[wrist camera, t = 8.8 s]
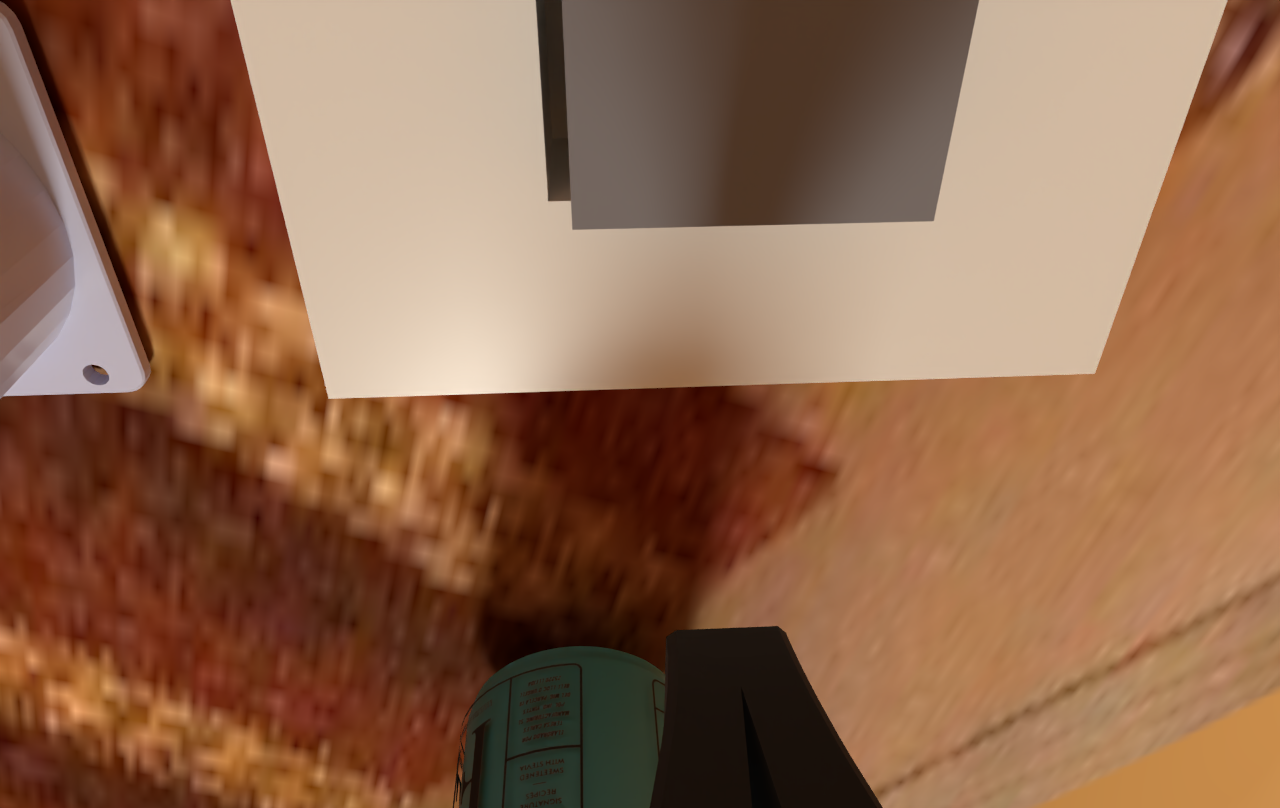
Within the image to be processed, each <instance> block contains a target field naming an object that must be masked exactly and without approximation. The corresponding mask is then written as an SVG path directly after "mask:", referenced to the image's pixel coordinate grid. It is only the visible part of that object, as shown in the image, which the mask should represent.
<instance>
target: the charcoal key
mask: <svg viewBox="0 0 1280 808" xmlns="http://www.w3.org/2000/svg"><path fill="white" fill-rule="evenodd" d="M978 3H979V0H562V18H563V39H564V61H565V83H566V104H567V126H568V147H569V169H570V191H571V212H572V230H587V229H629V228H672V227H714V226H756V225H798V224H840V223H882V222H924V221H934V218H935V213H936V208H937V203H938V198H939V193H940V188H941V183H942V179H943V174H944V169H945V164H946V159H947V154H948V149H949V145H950V140H951V135H952V130H953V125H954V120H955V115H956V110H957V106H958V101H959V96H960V91H961V86H962V81H963V76H964V72H965V67H966V62H967V57H968V52H969V47H970V42H971V38H972V33H973V28H974V23H975V18H976V13H977V8H978Z"/></svg>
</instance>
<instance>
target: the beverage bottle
mask: <svg viewBox="0 0 1280 808" xmlns="http://www.w3.org/2000/svg"><path fill="white" fill-rule="evenodd" d="M664 700H665V674H664V673H663V672H662V671H660V670H659V669H658V668H657V667H655V666H654V665H652V664H651V663H649V662H647V661H646V660H644V659H641V658H639V657H637V656H635V655H632V654H629V653H626V652H623V651H618V650H614V649H609V648H602V647H592V646H572V647H562V648H554V649H549V650H544V651H541V652H537V653H534V654H530V655H528V656H525V657H523V658H520V659H518V660H516V661H514V662H512V663H510V664H508V665H506V666H505V667H503V668H502V669H500V670H499V671H498V672H496V673H495V674H494V675H493V676H492V677H490V678H489V680H488V681H487V682H486V683H485V684H484V685H483V687H482V688H481V690H480V692H479V693H478V695H477V698H476V700H475V702H474V703H473V705H474V706H473V705H472V706H471V707H470V709H471V708H472V707H473V708H472V710H471V713H470V715H469V720H468V723H467V727H466V725H465V727H466V729H467V735H466V744H465V752H464V750H463V753H464V764H463V763H460V765H463V769H462V767H461V769H462V772H463V773H462V783H461V782H460V778H459V775H458V765H459V760H462V759H461V758H460V753H461V751H460V750H459V751H460V753H459V757H458V763H457V774H456V783H457V793H458V784H459V783H460V796H459V808H650V803H651V798H652V792H653V787H654V781H655V776H656V770H657V765H658V759H659V754H660V748H661V743H662V735H663V727H664ZM470 709H469V710H470ZM469 710H468V712H469ZM468 712H467V714H468ZM467 714H466V715H467ZM466 715H465V717H466ZM464 719H465V718H464ZM463 722H464V721H463ZM462 725H463V723H462ZM465 727H464V729H463V730H464V731H466V730H465ZM461 729H462V728H461ZM462 733H463V734H464V732H462ZM460 736H461V737H463V735H460ZM461 739H462V738H461ZM461 739H460V740H461ZM460 742H461V741H460ZM461 746H462V743H461ZM459 747H460V745H459ZM459 749H460V748H459ZM462 749H463V746H462ZM459 758H460V759H459ZM456 783H455V792H454V801H453V808H454V802H455V793H456ZM456 802H457V794H456Z"/></svg>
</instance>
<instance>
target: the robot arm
mask: <svg viewBox="0 0 1280 808" xmlns="http://www.w3.org/2000/svg"><path fill="white" fill-rule="evenodd" d="M91 365H97V366H100V367H102V368H103V369H105V370H106V372H107V373H108V374H109V375H103V374H100V373H99V372H97V371H95V370H94V368H93V367H92V366H91ZM150 373H151V370H150V364H149V361H148V359H147V356H146V353H145V351H144V348H143V345H142V343H141V340H140V337H139V335H138V332H137V330H136V327H135V324H134V322H133V319H132V316H131V314H130V311H129V308H128V306H127V303H126V300H125V298H124V295H123V292H122V290H121V287H120V285H119V282H118V279H117V277H116V274H115V271H114V269H113V266H112V263H111V261H110V258H109V255H108V253H107V250H106V247H105V245H104V242H103V240H102V237H101V234H100V232H99V229H98V226H97V224H96V221H95V218H94V216H93V213H92V210H91V208H90V205H89V202H88V200H87V197H86V195H85V192H84V189H83V187H82V184H81V181H80V179H79V176H78V173H77V171H76V168H75V165H74V163H73V160H72V157H71V155H70V152H69V150H68V147H67V144H66V142H65V139H64V136H63V134H62V131H61V128H60V126H59V123H58V120H57V118H56V115H55V112H54V110H53V107H52V105H51V102H50V99H49V97H48V94H47V91H46V89H45V86H44V83H43V81H42V78H41V75H40V73H39V70H38V67H37V65H36V62H35V60H34V57H33V54H32V52H31V49H30V46H29V44H28V41H27V38H26V36H25V33H24V30H23V28H22V25H21V23H20V22H19V20H18V18H17V16H16V15H15V13H14V12H13V11H12V10H11V9H10V8H9V7H8V6H7V5H6V4H4V3H3V2H1V1H0V399H1V397H2V396H23V395H54V394H85V393H117V392H131V391H136V390H138V389H139V388H141V387H142V386H143V385H144V384H145V382H146V381H147V379H148V378H149V375H150ZM650 808H883V807H882V806H881V804H880V803H879V801H878V799H877V798H876V796H875V794H874V793H873V791H872V790H871V788H870V786H869V785H868V783H867V782H866V780H865V778H864V777H863V775H862V774H861V772H860V770H859V769H858V767H857V766H856V764H855V762H854V761H853V759H852V758H851V756H850V754H849V753H848V751H847V749H846V747H845V746H844V744H843V742H842V741H841V739H840V737H839V736H838V734H837V732H836V730H835V729H834V727H833V725H832V723H831V721H830V720H829V718H828V716H827V714H826V712H825V711H824V709H823V707H822V705H821V703H820V702H819V700H818V698H817V696H816V694H815V692H814V690H813V688H812V686H811V685H810V683H809V681H808V679H807V677H806V675H805V673H804V671H803V669H802V667H801V665H800V663H799V661H798V659H797V656H796V654H795V652H794V650H793V648H792V646H791V644H790V641H789V639H788V637H787V634H786V633H785V632H784V631H783V630H782V629H780V628H779V627H778V626H771V627H747V628H722V629H697V630H676V631H674V632H673V633H672V634H670V635H669V636H667V637H666V663H665V700H664V727H663V735H662V743H661V748H660V754H659V759H658V765H657V770H656V776H655V781H654V787H653V792H652V798H651V803H650Z"/></svg>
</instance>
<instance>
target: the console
mask: <svg viewBox="0 0 1280 808" xmlns="http://www.w3.org/2000/svg"><path fill="white" fill-rule="evenodd" d="M1226 3H1227V0H979V3H978V8H977V13H976V18H975V23H974V28H973V33H972V38H971V42H970V47H969V52H968V57H967V62H966V67H965V72H964V76H963V81H962V86H961V91H960V96H959V101H958V106H957V110H956V115H955V120H954V125H953V130H952V135H951V140H950V145H949V149H948V154H947V159H946V164H945V169H944V174H943V179H942V183H941V188H940V193H939V198H938V203H937V208H936V213H935V218H934V221H924V222H882V223H840V224H798V225H756V226H714V227H672V228H629V229H587V230H572V212H571V191H570V169H569V147H568V126H567V104H566V83H565V61H564V39H563V18H562V0H231V4H232V8H233V12H234V16H235V20H236V24H237V28H238V32H239V36H240V40H241V44H242V48H243V52H244V56H245V61H246V65H247V69H248V73H249V77H250V81H251V85H252V89H253V93H254V97H255V101H256V105H257V109H258V113H259V117H260V121H261V126H262V130H263V134H264V138H265V142H266V146H267V150H268V154H269V158H270V162H271V166H272V170H273V174H274V178H275V182H276V187H277V191H278V195H279V199H280V203H281V207H282V211H283V215H284V219H285V223H286V227H287V231H288V235H289V239H290V243H291V248H292V252H293V256H294V260H295V264H296V268H297V272H298V276H299V280H300V284H301V288H302V292H303V296H304V300H305V304H306V309H307V313H308V317H309V321H310V325H311V329H312V333H313V337H314V341H315V345H316V349H317V353H318V357H319V361H320V365H321V370H322V374H323V378H324V382H325V386H326V390H327V394H328V398H329V399H335V398H366V397H396V396H427V395H457V394H488V393H518V392H549V391H579V390H610V389H641V388H671V387H702V386H732V385H763V384H793V383H824V382H854V381H885V380H916V379H946V378H977V377H1007V376H1038V375H1068V374H1095V372H1096V369H1097V366H1098V363H1099V360H1100V358H1101V355H1102V352H1103V349H1104V346H1105V343H1106V341H1107V338H1108V335H1109V332H1110V329H1111V327H1112V324H1113V321H1114V318H1115V315H1116V313H1117V310H1118V307H1119V304H1120V301H1121V298H1122V296H1123V293H1124V290H1125V287H1126V284H1127V282H1128V279H1129V276H1130V273H1131V270H1132V267H1133V265H1134V262H1135V259H1136V256H1137V253H1138V251H1139V248H1140V245H1141V242H1142V239H1143V237H1144V234H1145V231H1146V228H1147V225H1148V222H1149V220H1150V217H1151V214H1152V211H1153V208H1154V206H1155V203H1156V200H1157V197H1158V194H1159V191H1160V189H1161V186H1162V183H1163V180H1164V177H1165V175H1166V172H1167V169H1168V166H1169V163H1170V161H1171V158H1172V155H1173V152H1174V149H1175V146H1176V144H1177V141H1178V138H1179V135H1180V132H1181V130H1182V127H1183V124H1184V121H1185V118H1186V116H1187V113H1188V110H1189V107H1190V104H1191V101H1192V99H1193V96H1194V93H1195V90H1196V87H1197V85H1198V82H1199V79H1200V76H1201V73H1202V70H1203V68H1204V65H1205V62H1206V59H1207V56H1208V54H1209V51H1210V48H1211V45H1212V42H1213V40H1214V37H1215V34H1216V31H1217V28H1218V25H1219V23H1220V20H1221V17H1222V14H1223V11H1224V9H1225V6H1226Z"/></svg>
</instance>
